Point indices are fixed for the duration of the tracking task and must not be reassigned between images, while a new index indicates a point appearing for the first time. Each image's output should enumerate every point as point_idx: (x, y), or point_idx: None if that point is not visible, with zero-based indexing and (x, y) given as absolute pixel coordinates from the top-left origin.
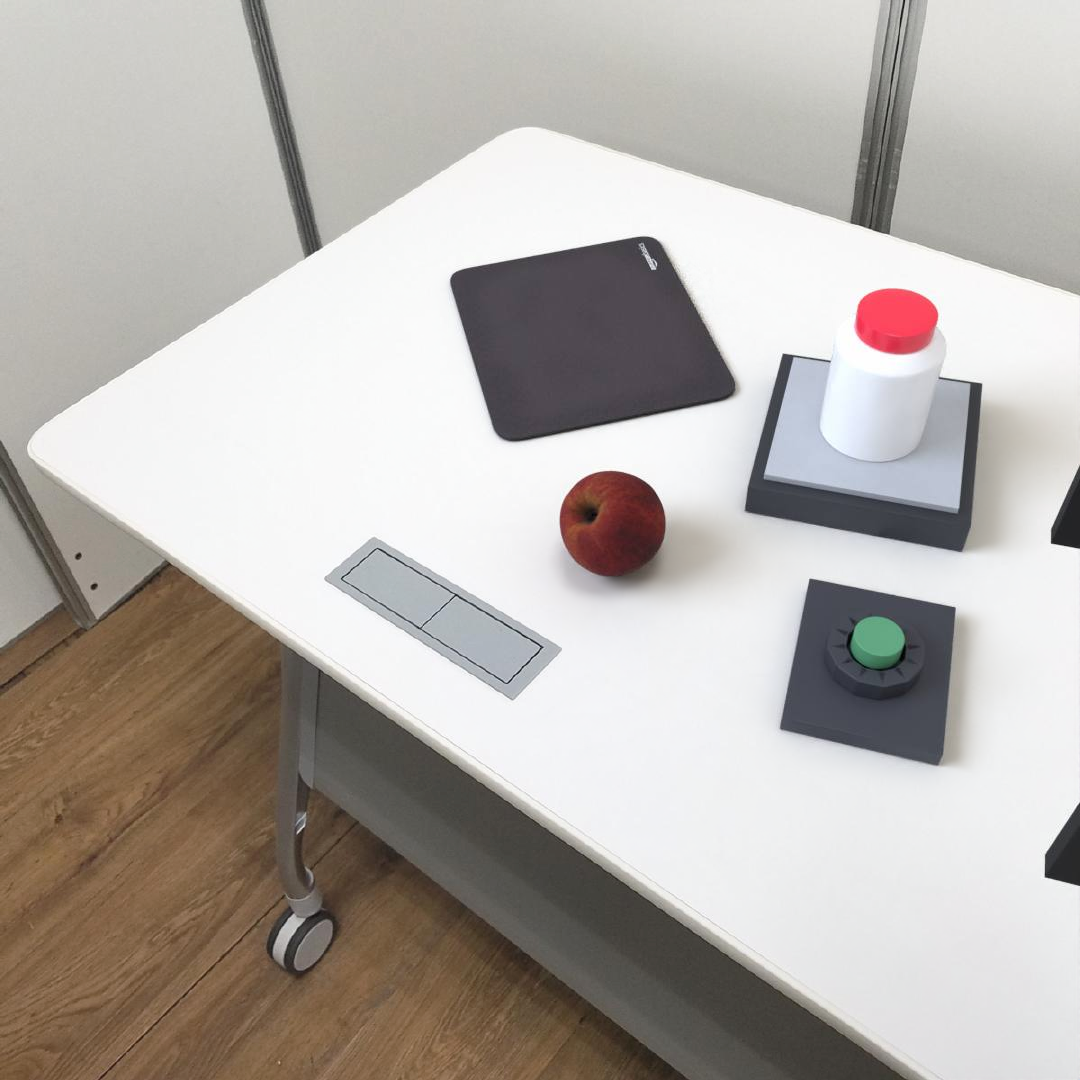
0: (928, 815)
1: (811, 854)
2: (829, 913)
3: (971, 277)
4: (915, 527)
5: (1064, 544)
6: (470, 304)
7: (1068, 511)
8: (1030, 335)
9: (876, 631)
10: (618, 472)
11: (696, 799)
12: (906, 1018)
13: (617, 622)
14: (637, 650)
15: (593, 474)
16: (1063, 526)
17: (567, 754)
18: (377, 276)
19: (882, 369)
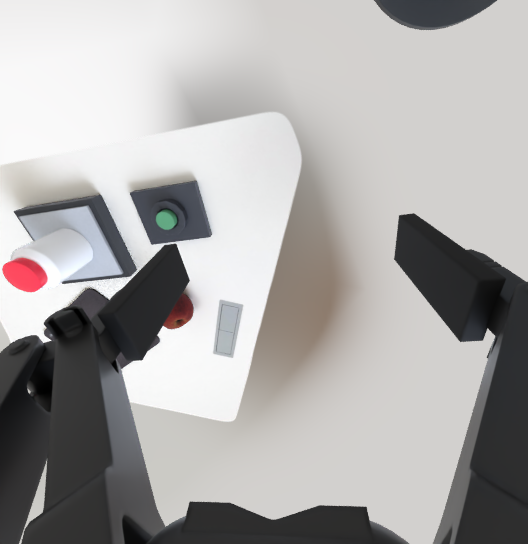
0: (217, 179)
1: (249, 212)
2: (266, 201)
3: None
4: (104, 216)
5: (187, 275)
6: None
7: (179, 295)
8: None
9: (163, 222)
10: None
11: (248, 249)
12: (289, 168)
13: (202, 289)
14: (208, 281)
15: (166, 327)
16: (183, 287)
17: (252, 286)
18: (126, 389)
19: (54, 269)
